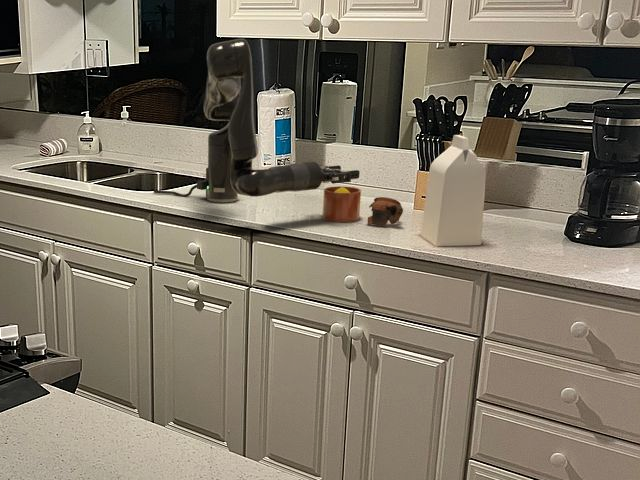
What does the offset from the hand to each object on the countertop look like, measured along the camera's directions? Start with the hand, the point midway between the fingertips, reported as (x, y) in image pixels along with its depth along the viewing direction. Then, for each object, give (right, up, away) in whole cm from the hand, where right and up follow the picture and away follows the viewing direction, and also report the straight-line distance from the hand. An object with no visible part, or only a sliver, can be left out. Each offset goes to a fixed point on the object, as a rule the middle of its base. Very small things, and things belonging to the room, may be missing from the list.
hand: (349, 171), depth 260 cm
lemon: (-2, -12, +3) cm, 13 cm away
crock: (-2, -12, +4) cm, 13 cm away
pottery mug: (+9, -15, -4) cm, 18 cm away
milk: (+22, -22, -21) cm, 37 cm away
